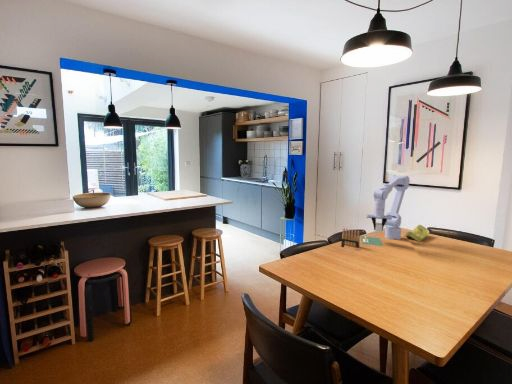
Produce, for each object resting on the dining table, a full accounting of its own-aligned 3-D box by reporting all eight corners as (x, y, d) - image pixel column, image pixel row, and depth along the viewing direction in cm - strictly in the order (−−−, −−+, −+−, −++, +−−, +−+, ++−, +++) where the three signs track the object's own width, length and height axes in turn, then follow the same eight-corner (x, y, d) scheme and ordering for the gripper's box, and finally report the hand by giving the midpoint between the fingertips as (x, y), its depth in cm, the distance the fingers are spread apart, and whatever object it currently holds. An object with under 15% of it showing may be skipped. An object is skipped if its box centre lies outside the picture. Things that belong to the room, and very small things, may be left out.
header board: (379, 240, 194) (380, 234, 194) (382, 248, 177) (383, 242, 177) (360, 238, 198) (361, 232, 197) (361, 246, 181) (362, 239, 180)
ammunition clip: (341, 246, 180) (342, 227, 178) (342, 245, 181) (343, 227, 180) (358, 250, 174) (359, 230, 172) (359, 249, 175) (360, 229, 173)
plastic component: (421, 239, 191) (407, 229, 196) (415, 247, 194) (402, 238, 200) (431, 231, 204) (418, 223, 210) (425, 239, 207) (412, 231, 213)
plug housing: (380, 230, 187) (381, 222, 186) (381, 232, 180) (382, 225, 180) (374, 229, 188) (375, 222, 188) (375, 232, 182) (376, 224, 181)
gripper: (367, 209, 181) (366, 230, 183) (393, 210, 176) (391, 232, 178) (367, 207, 188) (365, 227, 189) (391, 208, 183) (390, 229, 185)
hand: (378, 229), depth 184 cm, fingers closed on plug housing, 4 cm apart
